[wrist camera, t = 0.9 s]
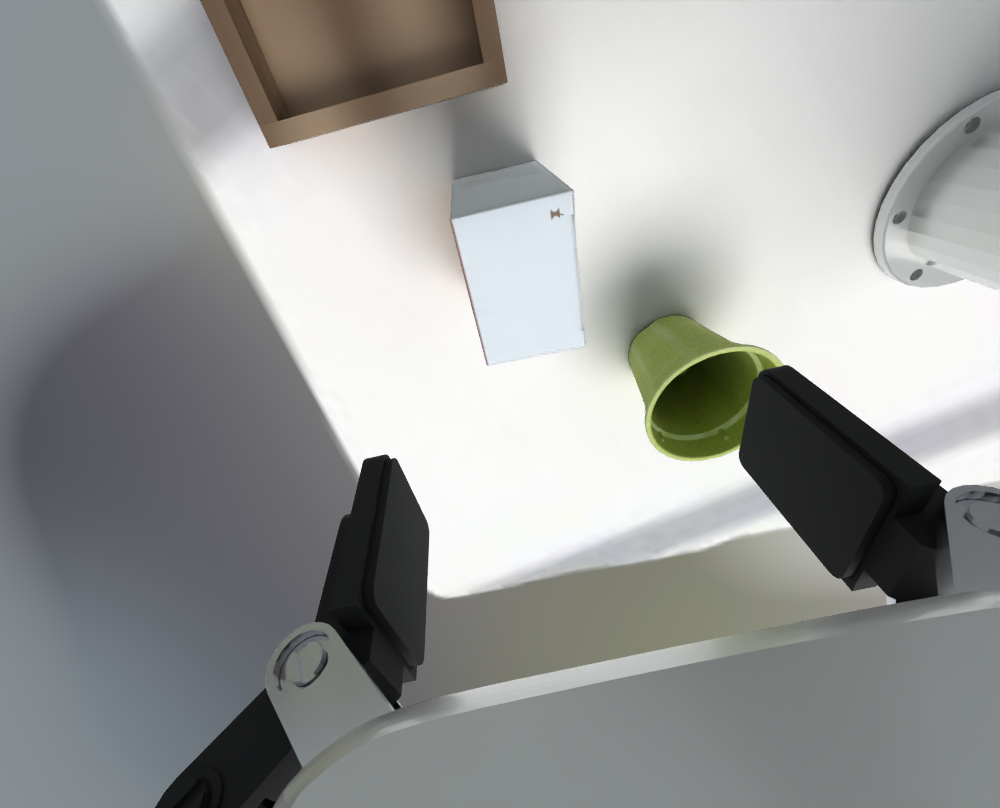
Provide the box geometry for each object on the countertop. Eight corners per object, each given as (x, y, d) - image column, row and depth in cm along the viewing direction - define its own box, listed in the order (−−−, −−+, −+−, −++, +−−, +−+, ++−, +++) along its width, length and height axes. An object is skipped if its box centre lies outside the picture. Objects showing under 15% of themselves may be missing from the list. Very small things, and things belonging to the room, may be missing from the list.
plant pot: (737, 291, 32) (814, 343, 25) (703, 392, 38) (758, 458, 31) (619, 295, 32) (663, 349, 25) (602, 397, 37) (634, 465, 30)
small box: (451, 178, 26) (446, 213, 18) (538, 158, 26) (575, 184, 18) (479, 297, 31) (485, 370, 23) (553, 281, 31) (587, 349, 22)
